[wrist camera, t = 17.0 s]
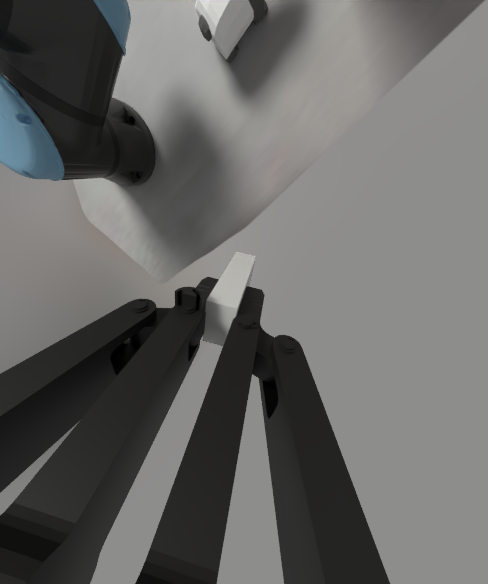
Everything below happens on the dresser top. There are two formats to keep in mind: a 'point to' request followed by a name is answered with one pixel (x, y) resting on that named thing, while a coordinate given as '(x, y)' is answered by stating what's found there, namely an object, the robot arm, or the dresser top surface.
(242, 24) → the giant panda
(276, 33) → the dresser top surface
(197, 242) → the dresser top surface
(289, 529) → the robot arm
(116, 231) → the dresser top surface
